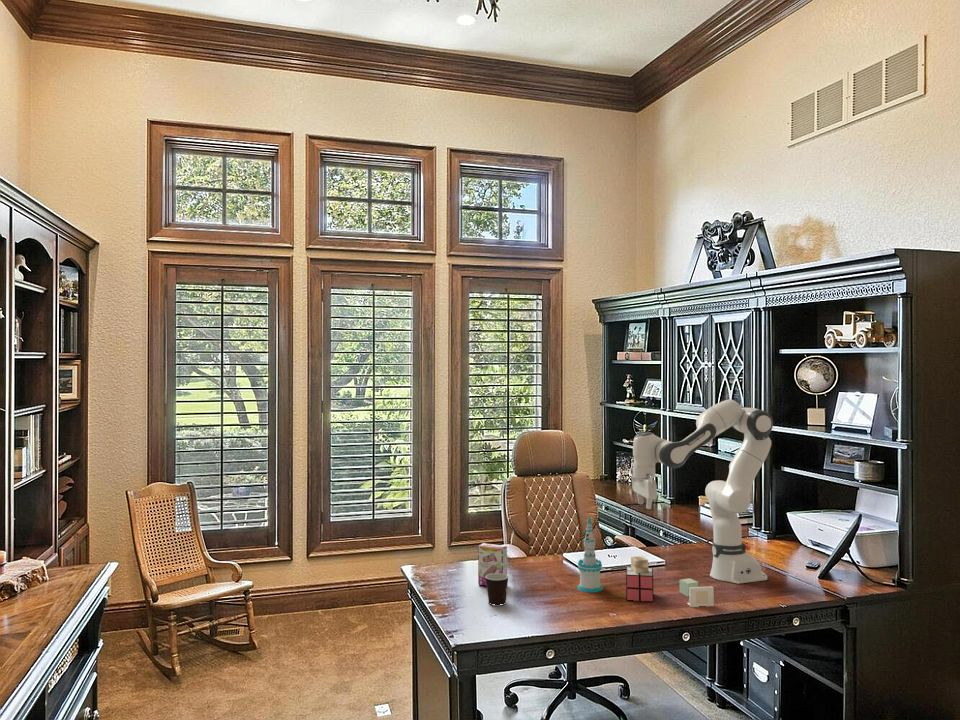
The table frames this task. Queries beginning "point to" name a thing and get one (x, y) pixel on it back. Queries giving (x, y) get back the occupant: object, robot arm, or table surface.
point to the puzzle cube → (639, 585)
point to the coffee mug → (497, 588)
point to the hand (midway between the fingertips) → (644, 506)
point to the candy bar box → (491, 561)
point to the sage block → (687, 585)
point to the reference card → (701, 596)
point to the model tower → (589, 564)
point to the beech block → (639, 564)
